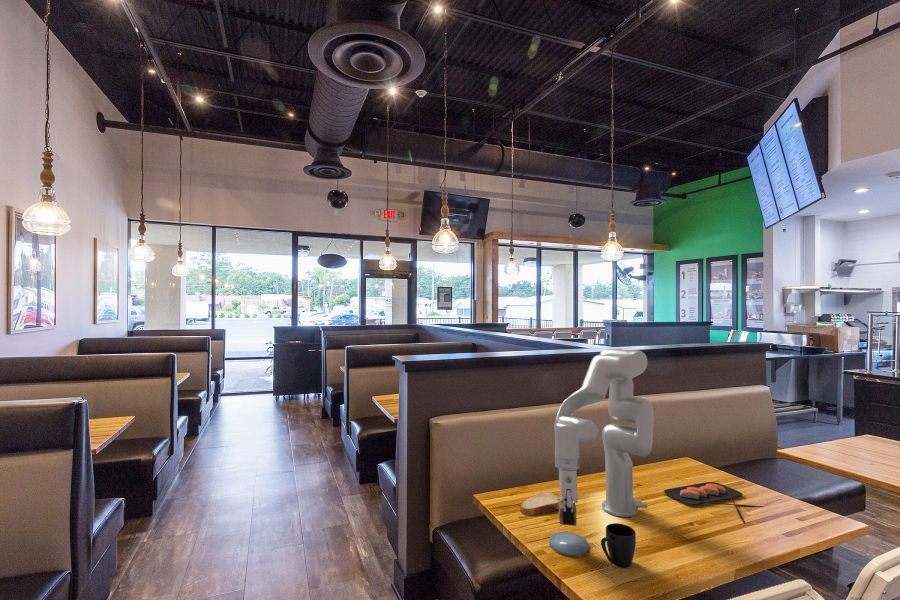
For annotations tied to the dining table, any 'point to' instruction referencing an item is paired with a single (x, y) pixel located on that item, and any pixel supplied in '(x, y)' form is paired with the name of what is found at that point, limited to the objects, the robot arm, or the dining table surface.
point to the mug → (619, 544)
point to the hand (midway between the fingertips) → (567, 519)
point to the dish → (568, 543)
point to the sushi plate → (705, 494)
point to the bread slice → (540, 504)
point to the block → (561, 508)
